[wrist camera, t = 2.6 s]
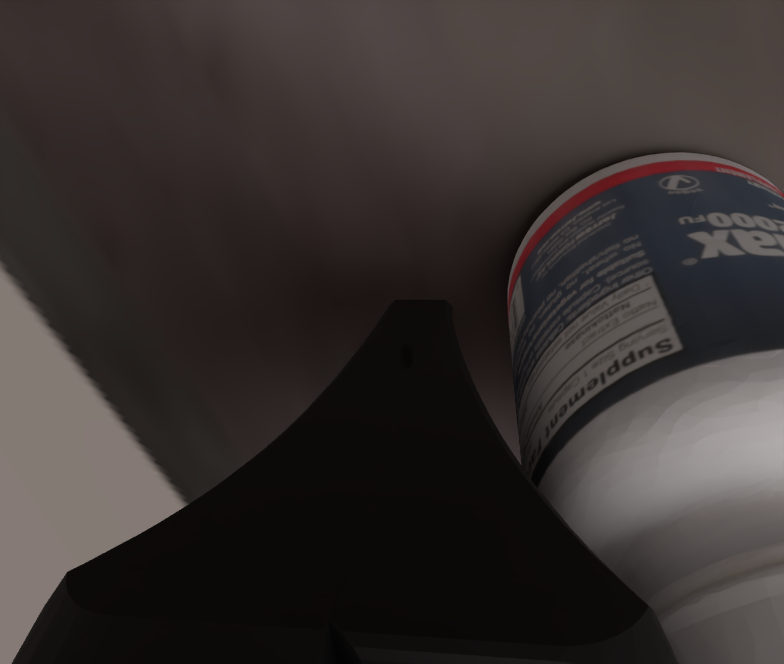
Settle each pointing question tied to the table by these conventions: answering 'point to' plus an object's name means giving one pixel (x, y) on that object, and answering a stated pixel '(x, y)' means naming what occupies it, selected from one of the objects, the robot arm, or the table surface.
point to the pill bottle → (663, 390)
